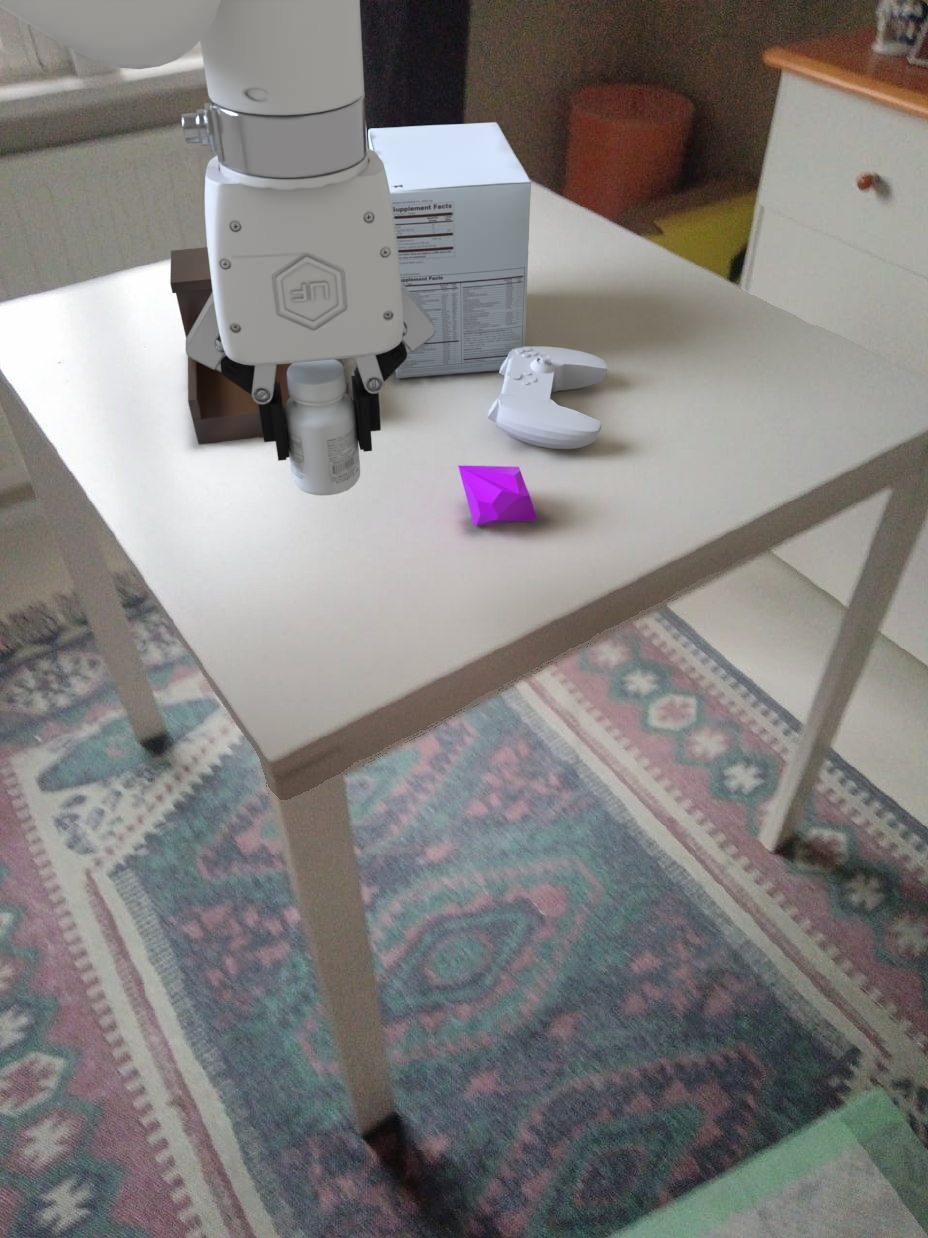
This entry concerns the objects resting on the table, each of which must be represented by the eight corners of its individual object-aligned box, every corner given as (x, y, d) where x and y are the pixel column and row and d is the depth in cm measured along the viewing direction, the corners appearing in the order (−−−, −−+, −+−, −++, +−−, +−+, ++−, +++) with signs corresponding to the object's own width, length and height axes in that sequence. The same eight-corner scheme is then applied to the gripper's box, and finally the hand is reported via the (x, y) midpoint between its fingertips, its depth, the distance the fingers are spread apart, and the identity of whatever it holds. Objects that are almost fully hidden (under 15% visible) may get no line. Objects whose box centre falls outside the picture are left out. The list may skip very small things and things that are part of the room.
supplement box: (528, 370, 97) (536, 182, 84) (394, 381, 96) (382, 192, 83) (497, 291, 109) (499, 117, 97) (378, 301, 108) (365, 125, 95)
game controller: (605, 431, 83) (491, 401, 83) (590, 472, 86) (480, 443, 86) (612, 347, 94) (510, 321, 93) (598, 387, 97) (500, 361, 96)
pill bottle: (366, 460, 65) (358, 353, 59) (354, 500, 61) (345, 391, 56) (300, 456, 65) (287, 349, 60) (285, 495, 62) (270, 386, 56)
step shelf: (196, 444, 88) (169, 331, 81) (194, 356, 100) (170, 250, 92) (354, 425, 90) (343, 313, 83) (335, 340, 102) (323, 235, 94)
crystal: (486, 543, 78) (486, 496, 75) (453, 507, 81) (452, 461, 78) (541, 523, 80) (543, 476, 76) (506, 488, 83) (507, 442, 80)
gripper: (112, 169, 45) (185, 493, 57) (472, 149, 48) (467, 463, 60) (120, 118, 50) (185, 425, 63) (443, 102, 53) (444, 400, 65)
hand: (323, 441), depth 61 cm, fingers closed on pill bottle, 4 cm apart
